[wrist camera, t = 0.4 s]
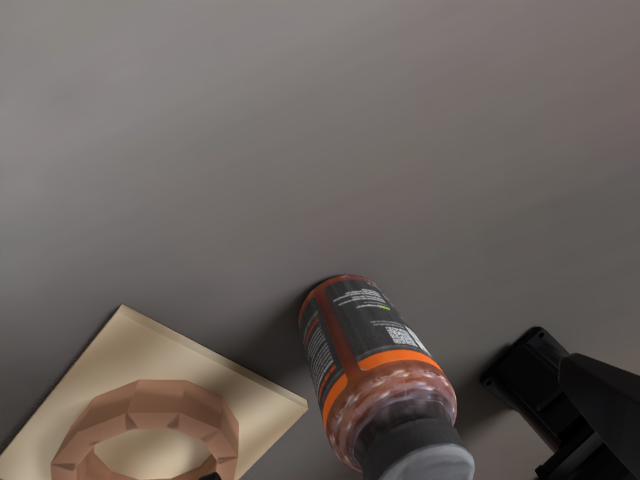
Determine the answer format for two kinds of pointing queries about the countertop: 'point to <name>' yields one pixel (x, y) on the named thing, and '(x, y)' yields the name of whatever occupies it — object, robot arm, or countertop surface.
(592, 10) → the countertop surface
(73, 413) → the collar stand
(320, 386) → the supplement bottle
